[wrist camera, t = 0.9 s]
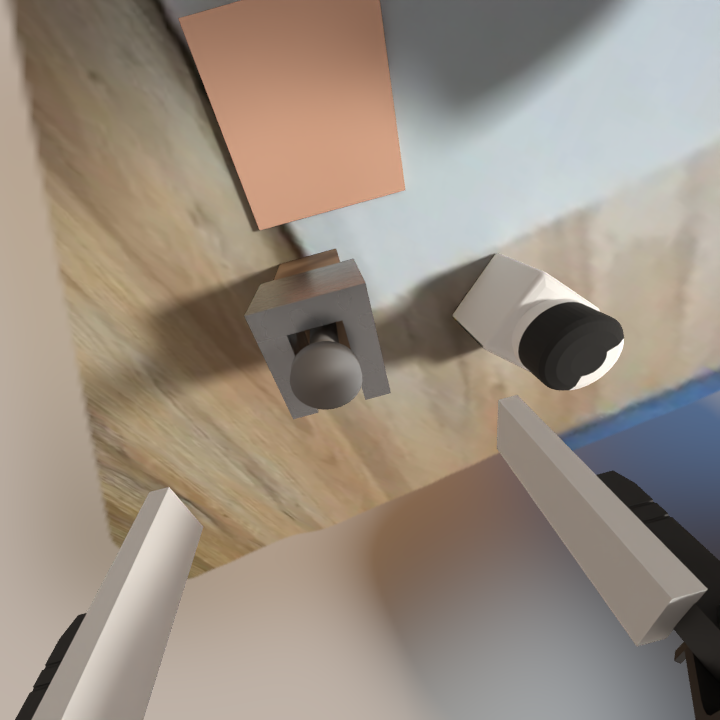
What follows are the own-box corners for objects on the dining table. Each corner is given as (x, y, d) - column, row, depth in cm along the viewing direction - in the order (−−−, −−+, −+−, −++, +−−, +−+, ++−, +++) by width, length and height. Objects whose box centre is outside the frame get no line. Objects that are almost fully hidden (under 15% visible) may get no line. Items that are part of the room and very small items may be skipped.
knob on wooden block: (336, 248, 26) (352, 303, 15) (357, 329, 31) (383, 421, 19) (280, 263, 26) (254, 330, 15) (309, 342, 31) (306, 441, 19)
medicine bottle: (449, 315, 31) (516, 383, 21) (495, 250, 28) (598, 292, 18) (499, 342, 34) (581, 414, 23) (546, 284, 31) (662, 337, 20)
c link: (260, 284, 22) (244, 315, 17) (353, 258, 22) (365, 282, 17) (297, 372, 26) (293, 419, 21) (375, 351, 26) (390, 393, 21)
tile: (372, -32, 18) (374, -38, 18) (403, 189, 25) (405, 189, 24) (182, 22, 19) (178, 18, 18) (260, 229, 25) (259, 230, 24)
